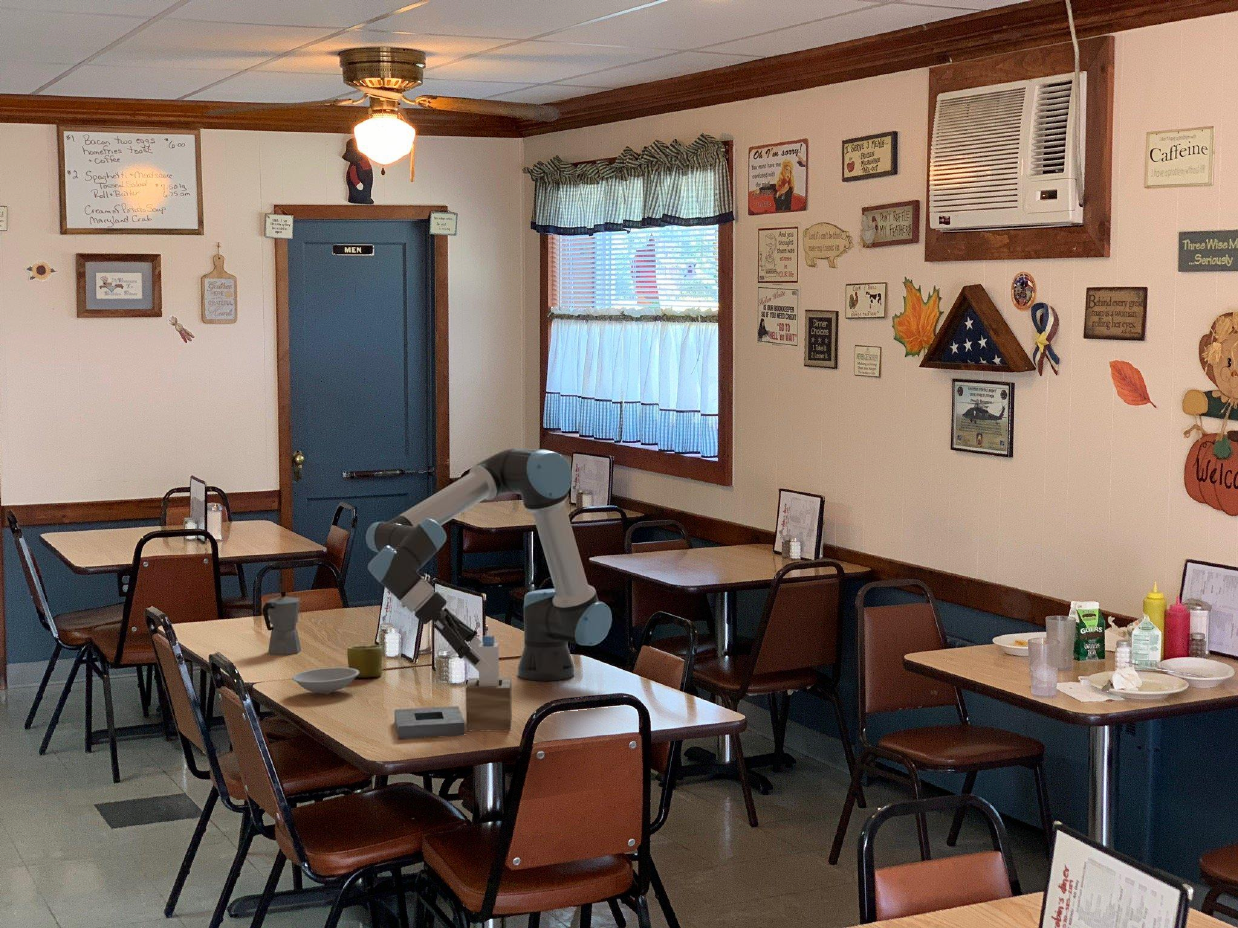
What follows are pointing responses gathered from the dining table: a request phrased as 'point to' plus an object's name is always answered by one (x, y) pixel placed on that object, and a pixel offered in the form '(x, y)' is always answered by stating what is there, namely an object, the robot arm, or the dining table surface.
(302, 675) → the dish
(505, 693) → the upper socket
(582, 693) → the dining table surface
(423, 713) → the lower socket
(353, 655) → the mug
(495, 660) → the plug
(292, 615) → the coffeepot
